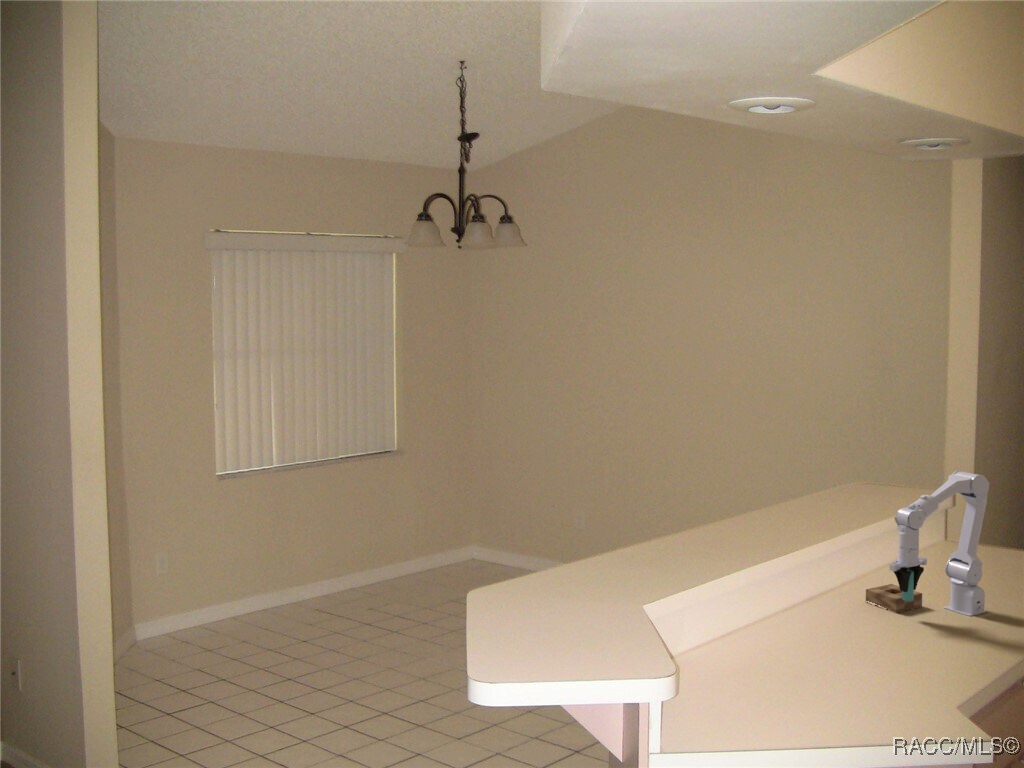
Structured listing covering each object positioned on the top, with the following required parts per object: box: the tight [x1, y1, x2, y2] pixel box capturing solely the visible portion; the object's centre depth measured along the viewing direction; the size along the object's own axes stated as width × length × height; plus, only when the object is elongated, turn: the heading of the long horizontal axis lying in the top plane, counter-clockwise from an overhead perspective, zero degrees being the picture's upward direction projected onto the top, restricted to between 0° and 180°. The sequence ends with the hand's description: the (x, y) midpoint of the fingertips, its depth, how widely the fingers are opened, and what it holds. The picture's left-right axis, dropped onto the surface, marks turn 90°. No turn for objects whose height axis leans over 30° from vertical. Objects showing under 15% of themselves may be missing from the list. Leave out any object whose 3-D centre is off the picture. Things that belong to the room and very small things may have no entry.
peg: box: [902, 570, 915, 601], centre depth 290 cm, size 3×3×9 cm
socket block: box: [865, 583, 923, 614], centre depth 304 cm, size 12×12×4 cm
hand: (907, 590), depth 291 cm, fingers closed on peg, 3 cm apart
